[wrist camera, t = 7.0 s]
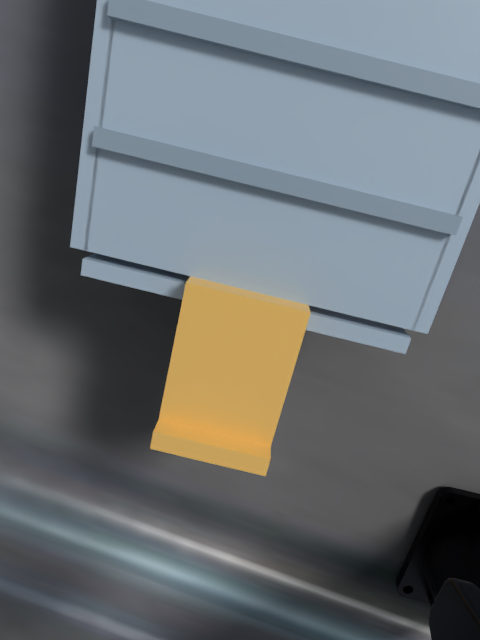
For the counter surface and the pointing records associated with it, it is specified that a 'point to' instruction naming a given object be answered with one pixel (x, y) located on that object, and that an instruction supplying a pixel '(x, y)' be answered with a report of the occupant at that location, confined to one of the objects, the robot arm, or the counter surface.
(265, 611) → the counter surface
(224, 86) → the lid
